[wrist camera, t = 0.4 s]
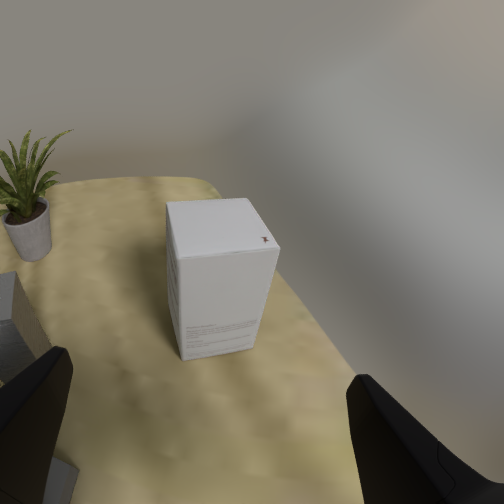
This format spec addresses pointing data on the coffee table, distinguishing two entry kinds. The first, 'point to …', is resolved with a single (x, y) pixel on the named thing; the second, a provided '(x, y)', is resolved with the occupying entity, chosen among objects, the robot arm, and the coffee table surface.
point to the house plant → (27, 202)
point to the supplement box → (217, 274)
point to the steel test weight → (18, 329)
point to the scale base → (60, 482)
